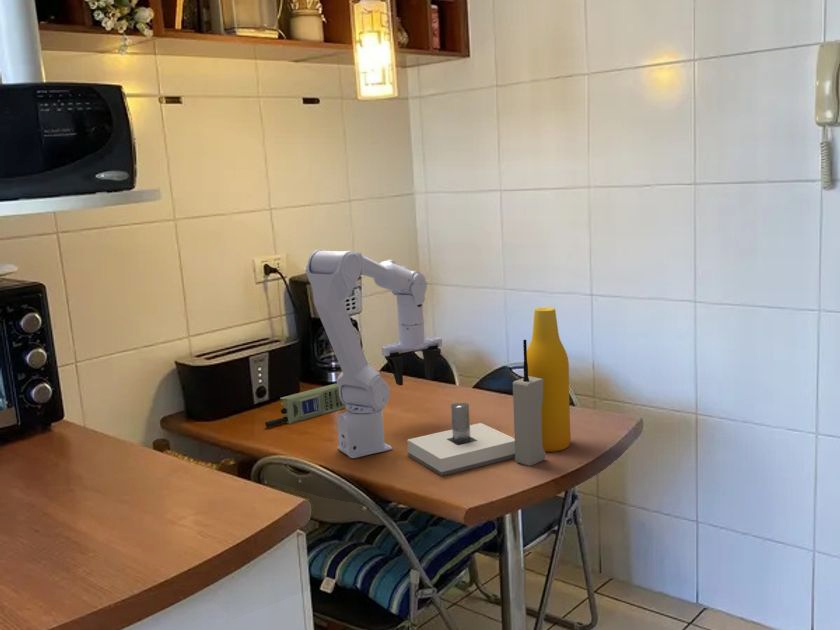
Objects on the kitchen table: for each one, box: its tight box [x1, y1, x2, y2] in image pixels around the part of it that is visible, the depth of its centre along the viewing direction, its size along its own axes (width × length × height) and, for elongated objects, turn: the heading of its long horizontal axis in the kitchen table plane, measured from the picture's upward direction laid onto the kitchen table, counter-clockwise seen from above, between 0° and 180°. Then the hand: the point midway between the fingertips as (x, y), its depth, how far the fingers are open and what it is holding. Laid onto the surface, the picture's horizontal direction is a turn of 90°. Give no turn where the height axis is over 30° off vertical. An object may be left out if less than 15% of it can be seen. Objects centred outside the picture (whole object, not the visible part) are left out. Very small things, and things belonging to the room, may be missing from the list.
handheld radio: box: [264, 382, 346, 428], centre depth 205 cm, size 7×3×25 cm
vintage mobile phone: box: [512, 339, 546, 467], centre depth 165 cm, size 4×5×25 cm
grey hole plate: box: [406, 422, 515, 477], centre depth 172 cm, size 18×14×4 cm
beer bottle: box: [527, 306, 571, 453], centre depth 174 cm, size 9×9×29 cm
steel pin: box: [450, 402, 471, 445], centre depth 171 cm, size 4×4×10 cm
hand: (414, 381), depth 192 cm, fingers open, 7 cm apart
